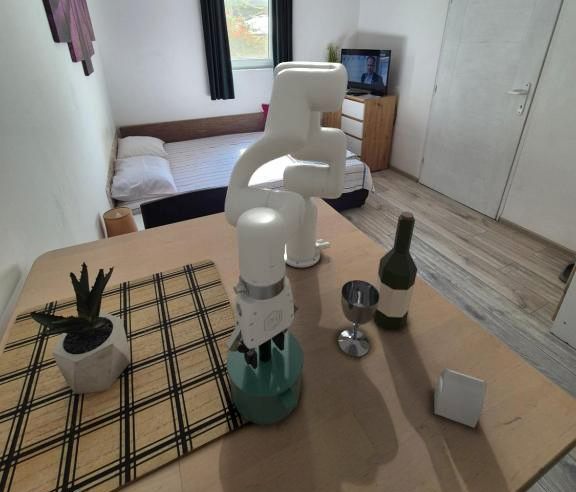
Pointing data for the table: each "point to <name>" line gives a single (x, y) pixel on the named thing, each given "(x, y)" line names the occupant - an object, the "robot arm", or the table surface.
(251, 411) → the pot
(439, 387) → the white box
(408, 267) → the wine bottle
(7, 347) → the table surface
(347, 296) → the wine glass
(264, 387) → the lid
